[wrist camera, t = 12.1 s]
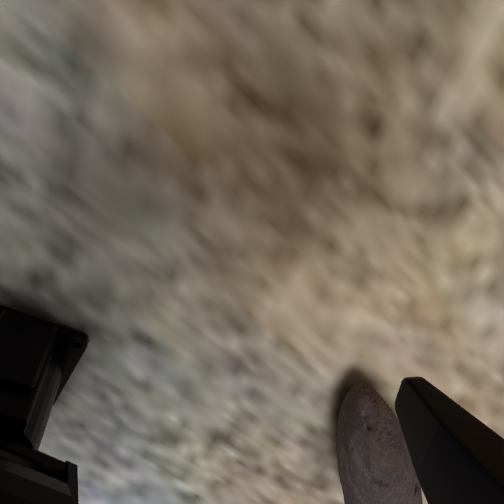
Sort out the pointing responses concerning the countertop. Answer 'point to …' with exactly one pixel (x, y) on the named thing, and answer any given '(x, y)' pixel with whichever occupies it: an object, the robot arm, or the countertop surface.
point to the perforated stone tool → (373, 452)
